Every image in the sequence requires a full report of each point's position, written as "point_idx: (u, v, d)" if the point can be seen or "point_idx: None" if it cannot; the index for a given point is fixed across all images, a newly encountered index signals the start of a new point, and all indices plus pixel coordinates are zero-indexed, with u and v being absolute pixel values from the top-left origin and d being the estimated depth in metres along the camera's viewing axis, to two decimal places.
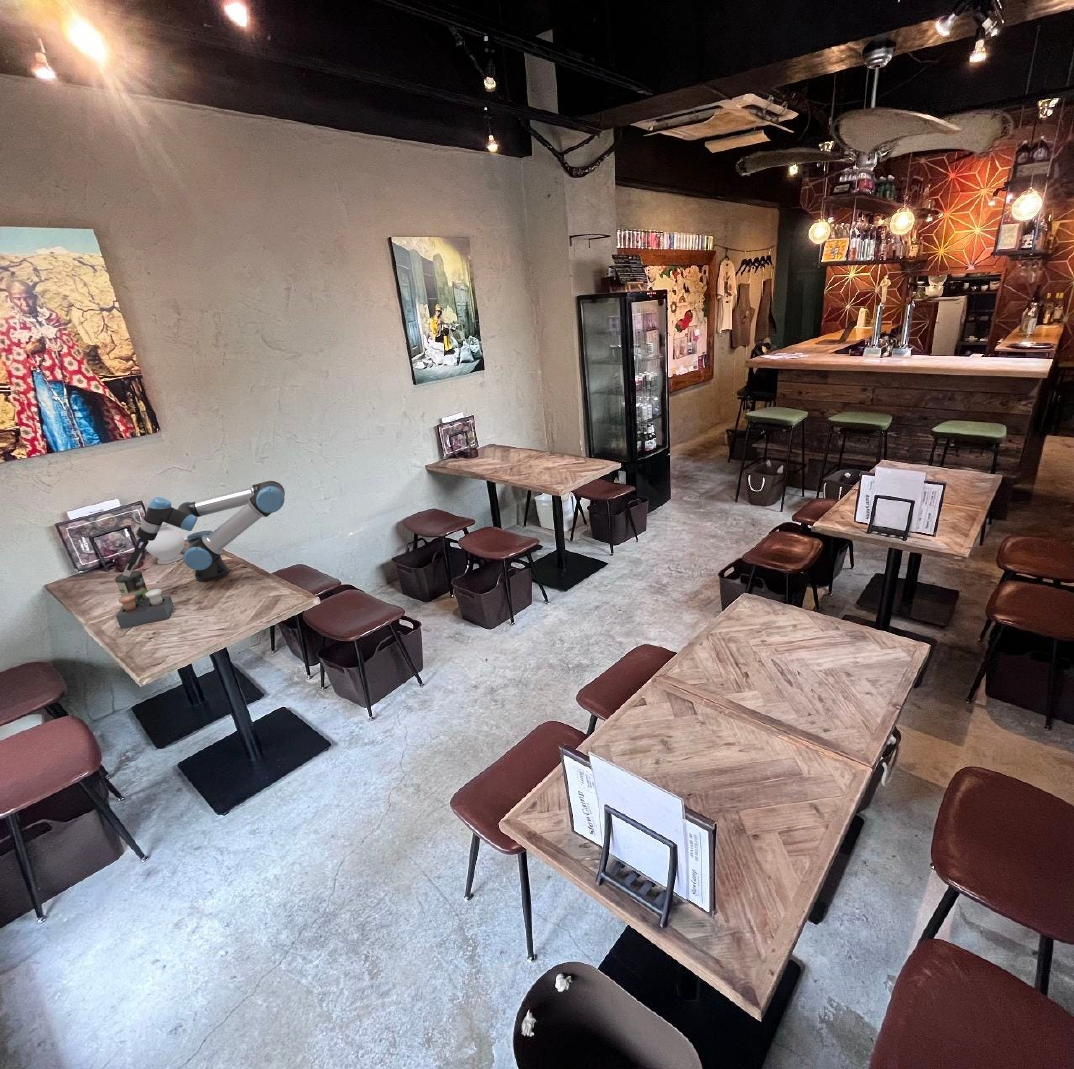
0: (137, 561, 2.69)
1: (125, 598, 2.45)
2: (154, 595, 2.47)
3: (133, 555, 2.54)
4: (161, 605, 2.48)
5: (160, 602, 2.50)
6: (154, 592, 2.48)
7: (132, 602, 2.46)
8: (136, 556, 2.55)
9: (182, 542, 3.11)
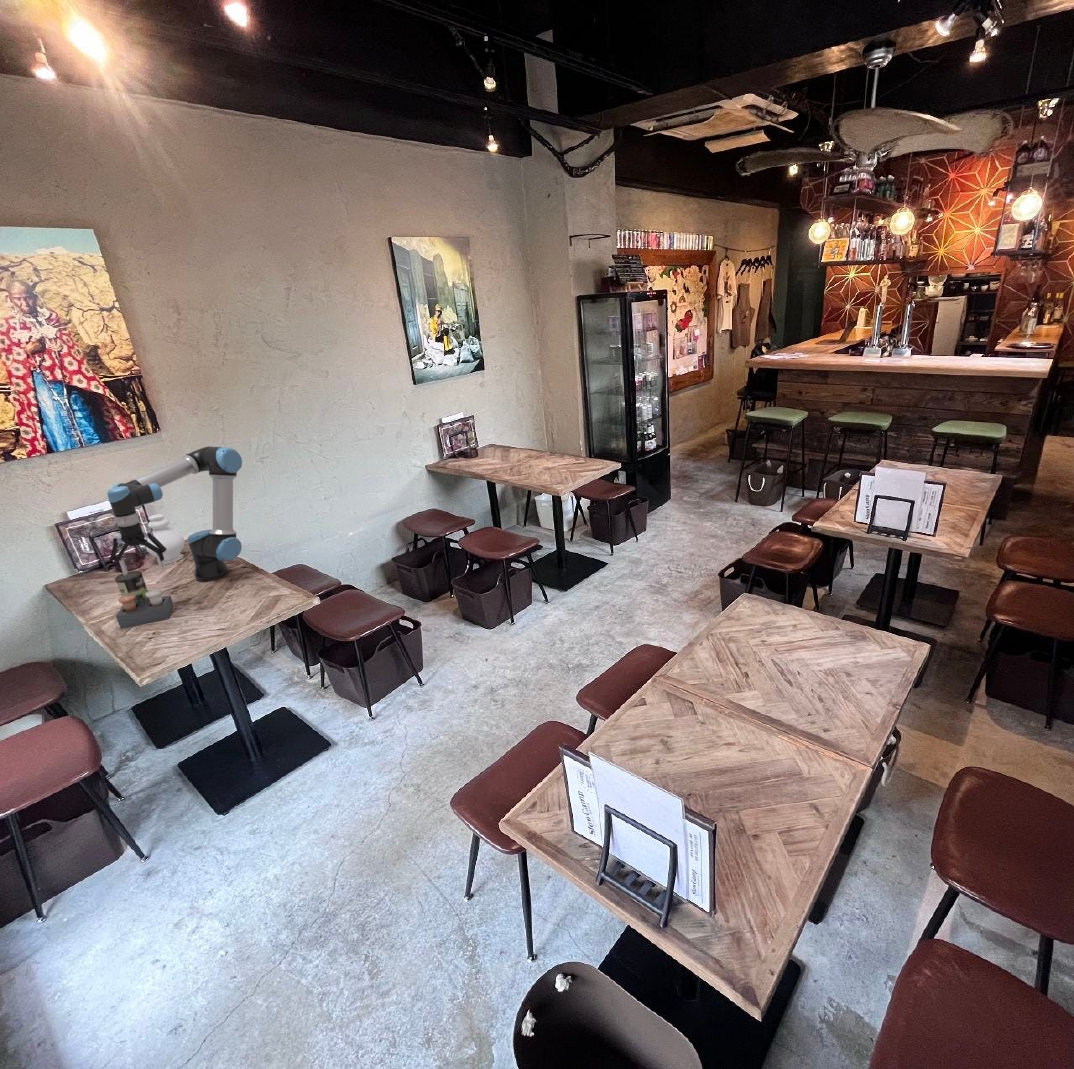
0: (126, 568, 2.44)
1: (125, 598, 2.45)
2: (154, 595, 2.47)
3: (159, 543, 2.44)
4: (161, 605, 2.48)
5: (160, 602, 2.50)
6: (154, 592, 2.48)
7: (132, 602, 2.46)
8: (160, 543, 2.45)
9: (182, 542, 3.11)
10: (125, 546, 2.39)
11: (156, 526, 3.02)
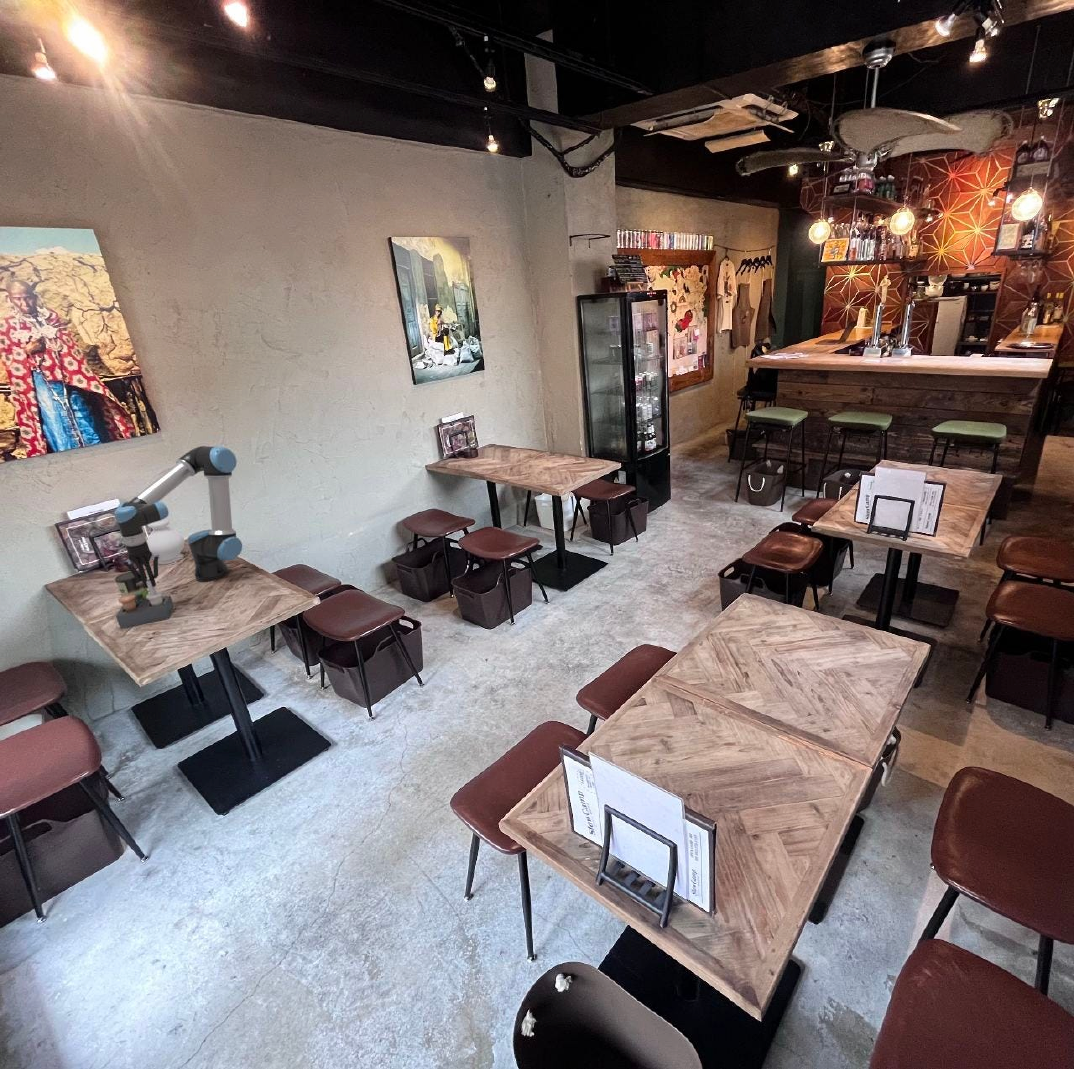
0: None
1: (125, 598, 2.45)
2: (155, 597, 2.47)
3: (157, 569, 2.46)
4: (161, 605, 2.48)
5: None
6: (155, 594, 2.49)
7: (132, 602, 2.46)
8: (157, 568, 2.47)
9: (182, 542, 3.11)
10: (139, 565, 2.42)
11: (156, 526, 3.02)
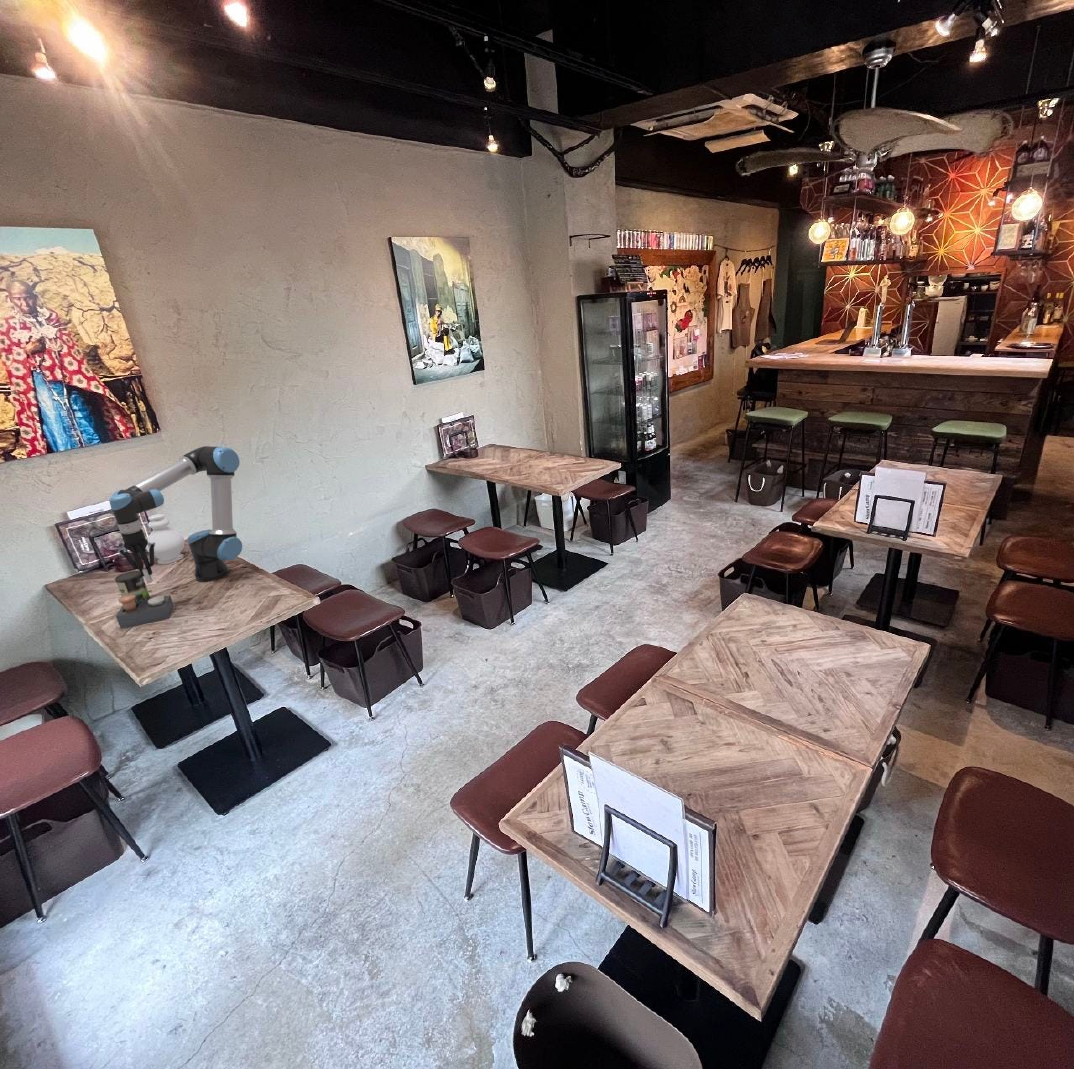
0: None
1: (125, 598, 2.45)
2: (157, 602, 2.48)
3: (153, 557, 2.44)
4: (161, 605, 2.48)
5: None
6: (157, 599, 2.50)
7: (132, 602, 2.46)
8: (153, 556, 2.45)
9: (182, 542, 3.11)
10: (134, 553, 2.40)
11: (156, 526, 3.02)
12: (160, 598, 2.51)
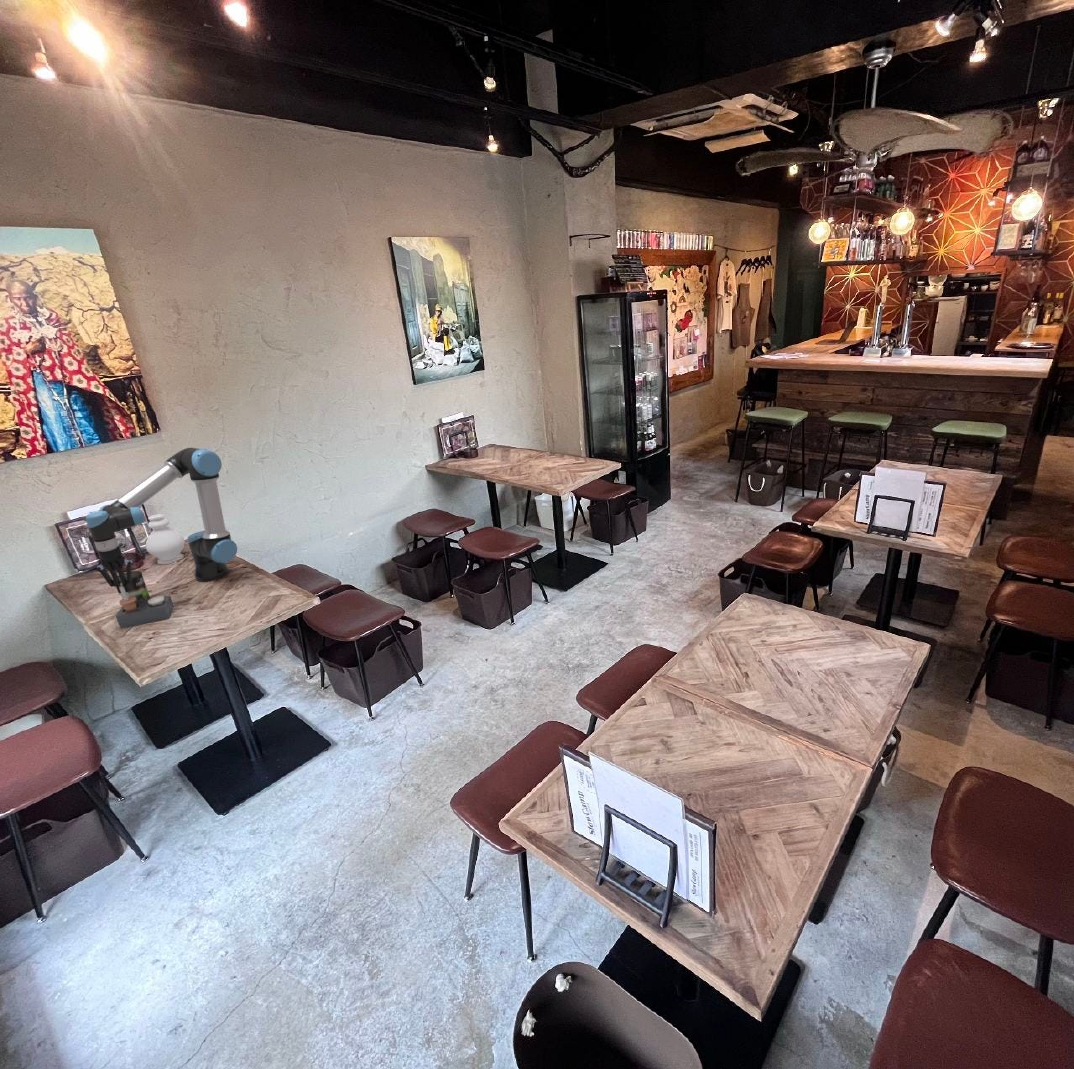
0: None
1: None
2: (157, 602, 2.48)
3: (130, 574, 2.43)
4: (161, 605, 2.48)
5: None
6: (157, 599, 2.50)
7: (133, 604, 2.47)
8: (131, 573, 2.44)
9: (182, 542, 3.11)
10: (111, 571, 2.39)
11: (156, 526, 3.02)
12: (160, 598, 2.51)
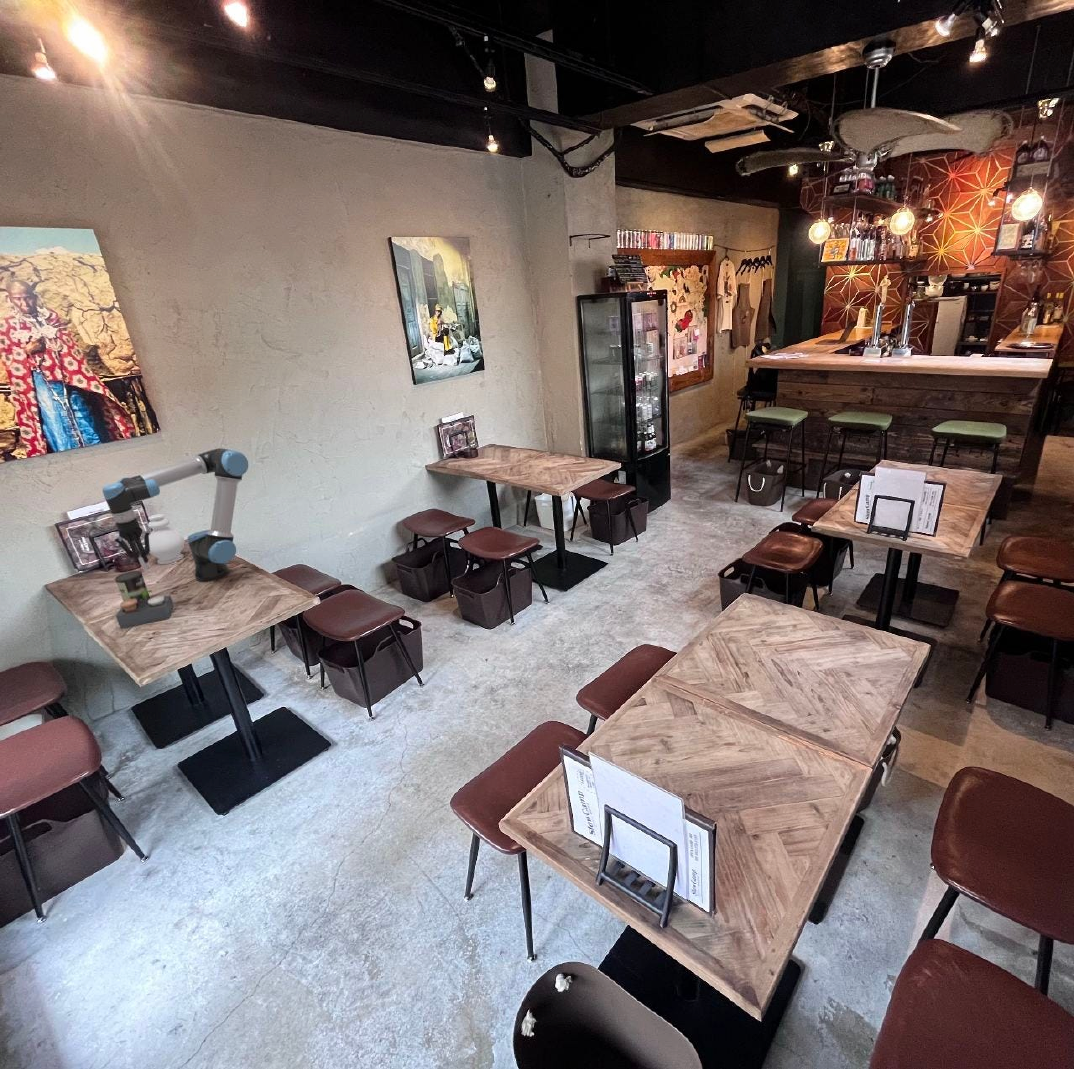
0: None
1: (127, 603, 2.46)
2: (157, 602, 2.48)
3: (148, 545, 2.49)
4: (161, 605, 2.48)
5: None
6: (157, 599, 2.50)
7: (134, 607, 2.47)
8: None
9: (182, 542, 3.11)
10: (130, 542, 2.45)
11: (156, 526, 3.02)
12: (160, 598, 2.51)
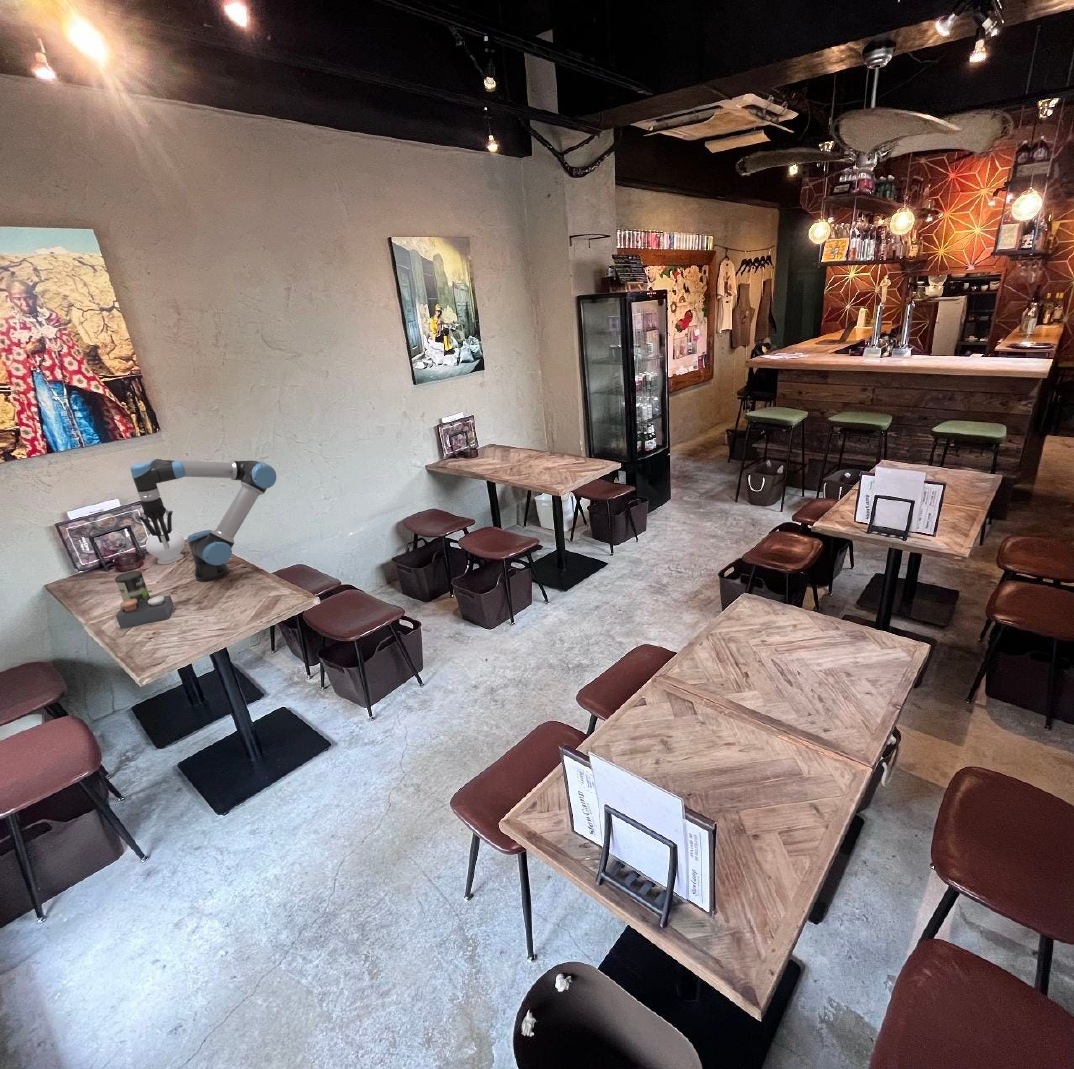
0: None
1: (127, 603, 2.46)
2: (157, 602, 2.48)
3: (170, 524, 2.57)
4: (161, 605, 2.48)
5: None
6: (157, 599, 2.50)
7: (134, 607, 2.47)
8: (171, 523, 2.58)
9: (182, 542, 3.11)
10: (153, 520, 2.53)
11: None
12: (160, 598, 2.51)
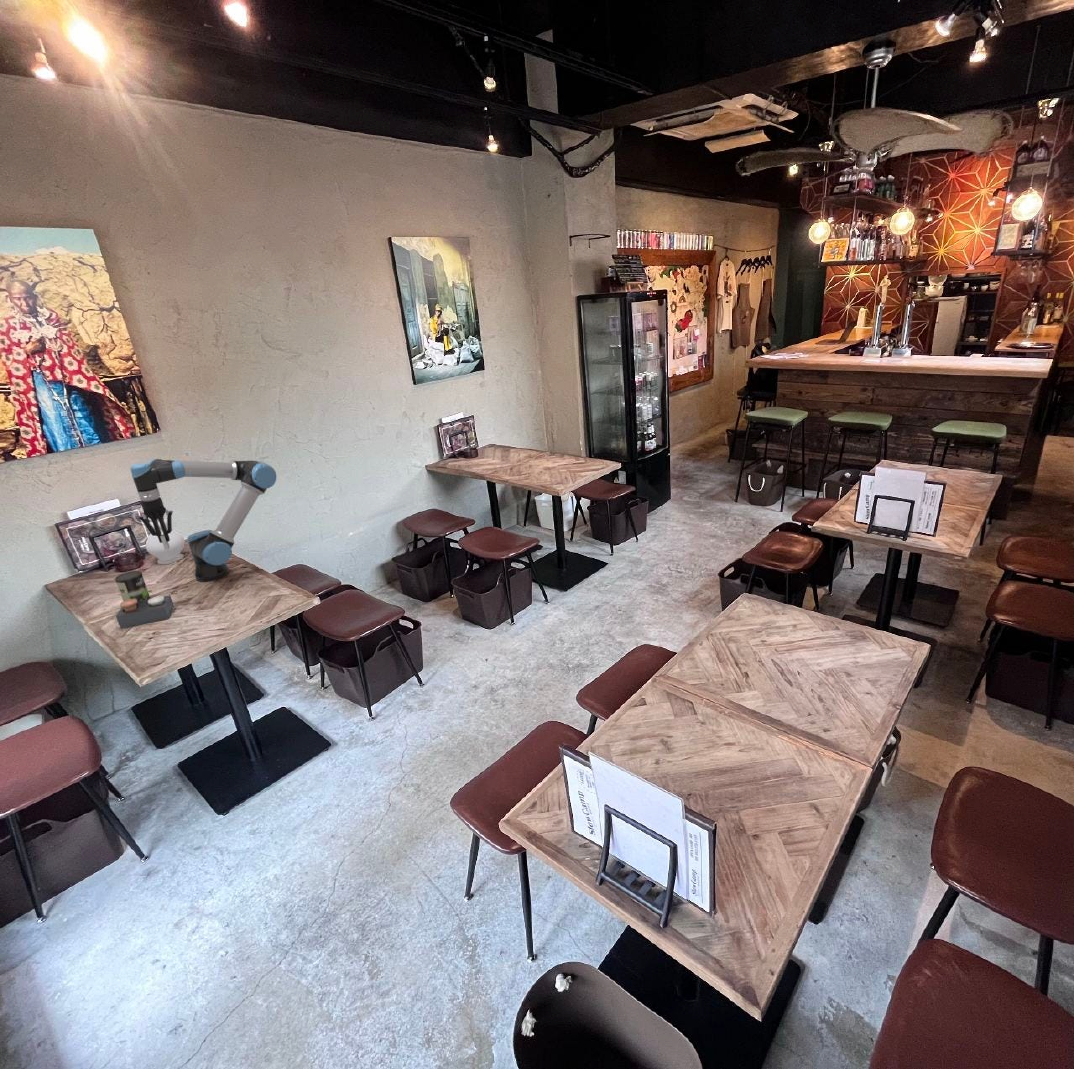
0: None
1: (127, 603, 2.46)
2: (157, 602, 2.48)
3: (170, 524, 2.57)
4: (161, 605, 2.48)
5: None
6: (157, 599, 2.50)
7: (134, 607, 2.47)
8: (171, 523, 2.58)
9: (182, 542, 3.11)
10: (153, 520, 2.53)
11: None
12: (160, 598, 2.51)
